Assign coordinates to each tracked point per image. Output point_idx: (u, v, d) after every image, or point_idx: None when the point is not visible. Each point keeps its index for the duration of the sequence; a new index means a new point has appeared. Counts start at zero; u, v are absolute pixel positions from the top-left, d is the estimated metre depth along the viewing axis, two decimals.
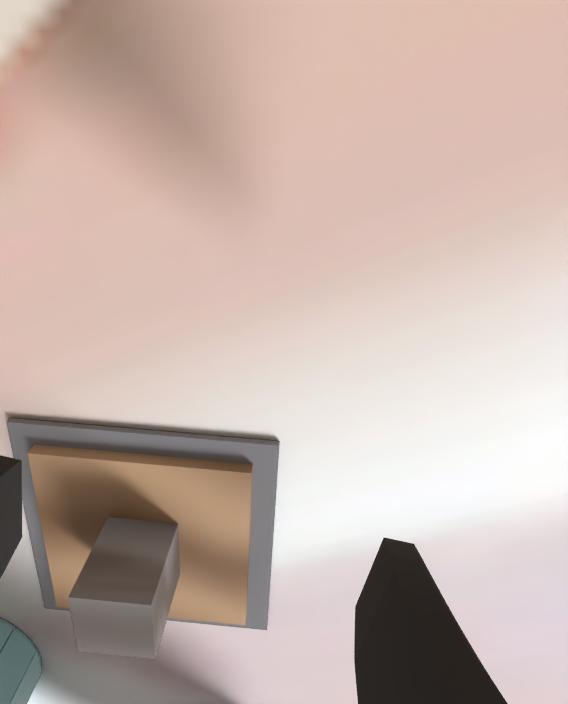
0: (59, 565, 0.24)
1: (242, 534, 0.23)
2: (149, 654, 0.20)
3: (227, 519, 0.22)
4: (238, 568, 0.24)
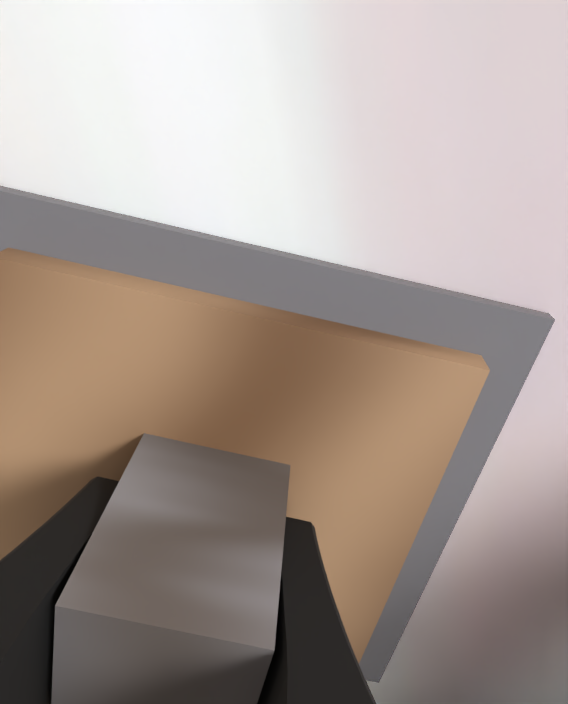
0: None
1: (175, 312, 0.10)
2: (254, 657, 0.07)
3: (130, 334, 0.10)
4: (286, 344, 0.10)
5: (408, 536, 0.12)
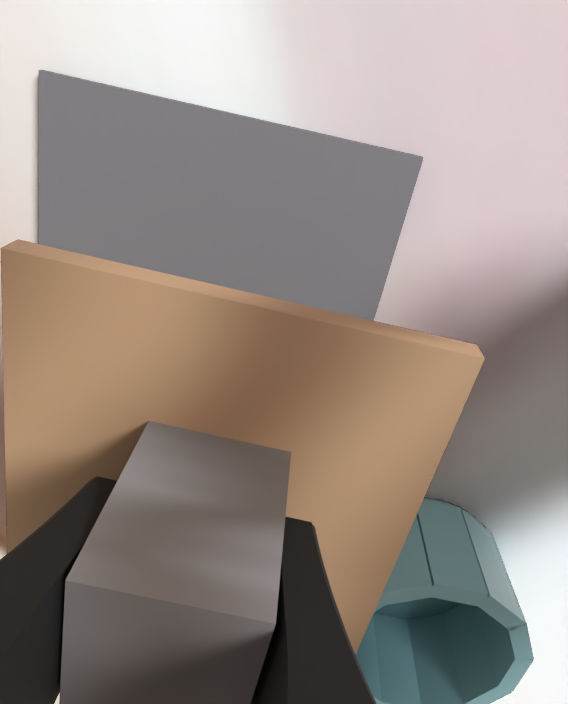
0: None
1: (180, 302, 0.10)
2: (255, 629, 0.08)
3: (135, 323, 0.10)
4: (286, 333, 0.10)
5: (406, 522, 0.12)
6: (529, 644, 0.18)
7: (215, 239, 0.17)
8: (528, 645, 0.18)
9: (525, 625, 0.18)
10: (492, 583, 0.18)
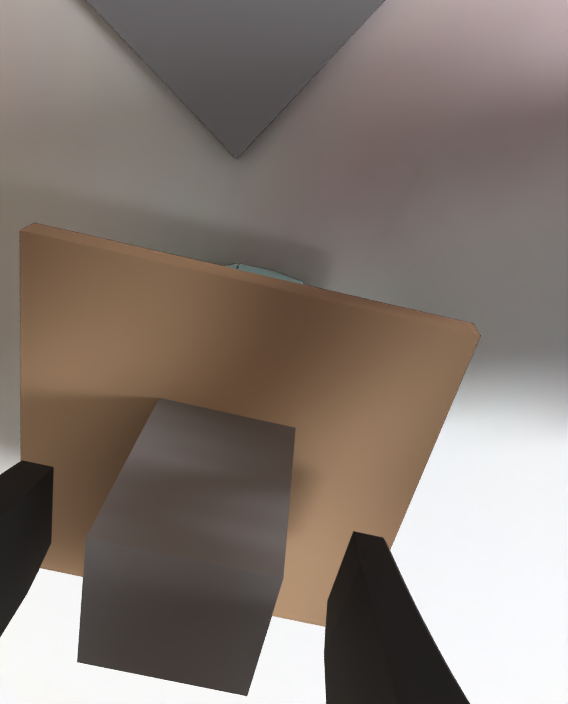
0: None
1: (190, 282, 0.10)
2: (264, 584, 0.08)
3: (147, 303, 0.11)
4: (292, 312, 0.11)
5: (406, 496, 0.12)
6: None
7: None
8: None
9: None
10: None
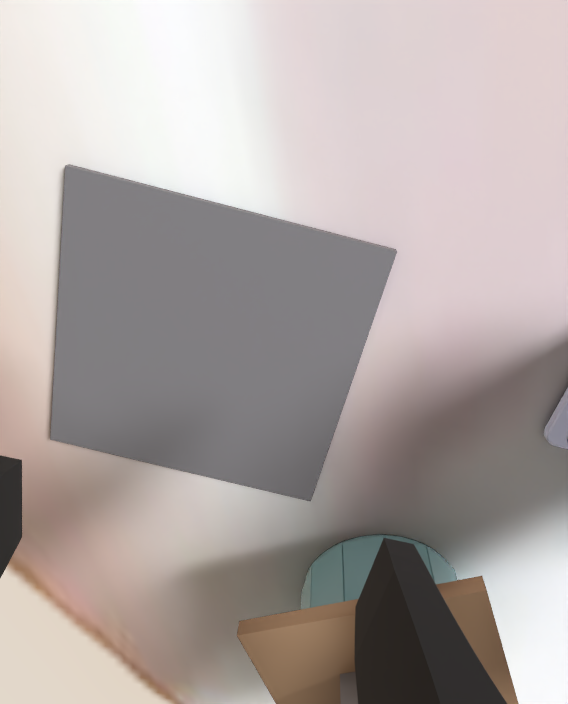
0: None
1: (325, 624, 0.19)
2: None
3: (310, 640, 0.20)
4: None
5: (505, 670, 0.20)
6: None
7: (213, 310, 0.19)
8: None
9: None
10: None
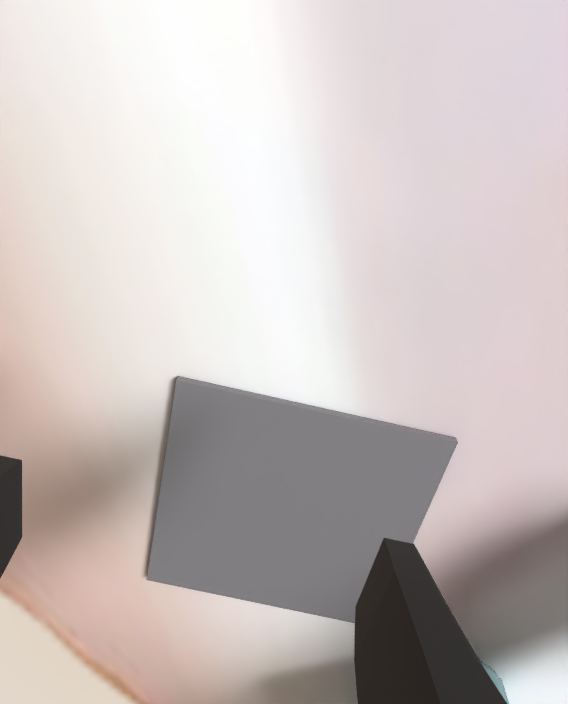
0: None
1: None
2: None
3: None
4: None
5: None
6: None
7: (297, 484, 0.22)
8: None
9: None
10: None
